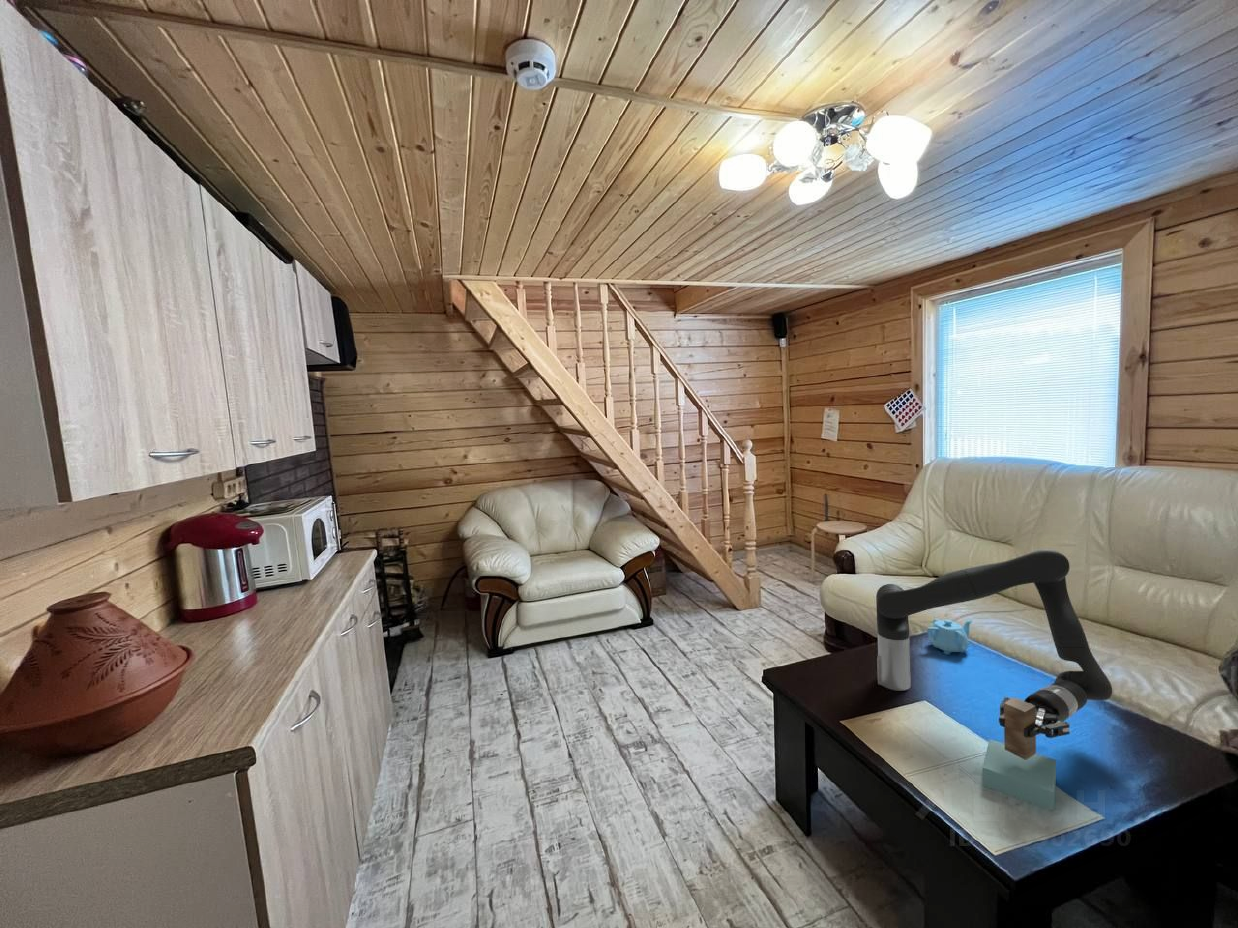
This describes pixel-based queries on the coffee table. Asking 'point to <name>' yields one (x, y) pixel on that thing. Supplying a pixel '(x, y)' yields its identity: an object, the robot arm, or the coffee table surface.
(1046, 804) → the teal block
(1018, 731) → the walnut pillar
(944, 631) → the teapot
